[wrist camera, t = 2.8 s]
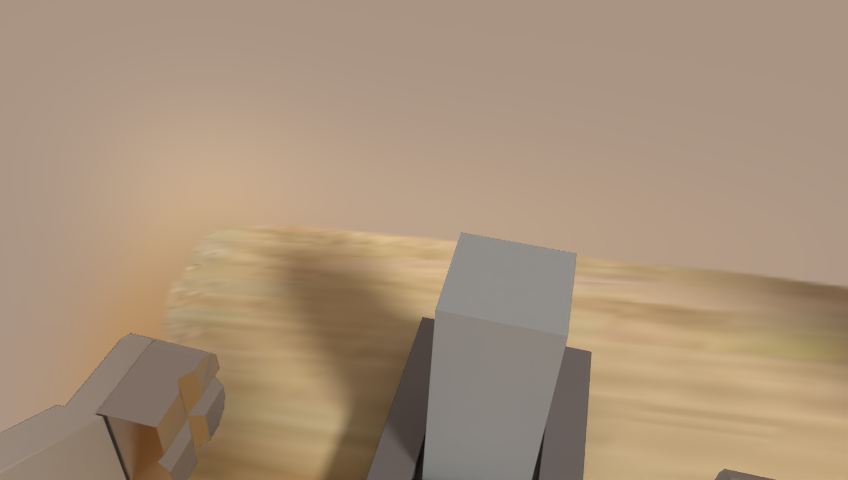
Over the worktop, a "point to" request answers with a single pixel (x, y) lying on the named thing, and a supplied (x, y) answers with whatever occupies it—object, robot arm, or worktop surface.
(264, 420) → the worktop surface
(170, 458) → the robot arm
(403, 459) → the power strip
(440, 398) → the grey rectangular block
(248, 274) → the worktop surface
